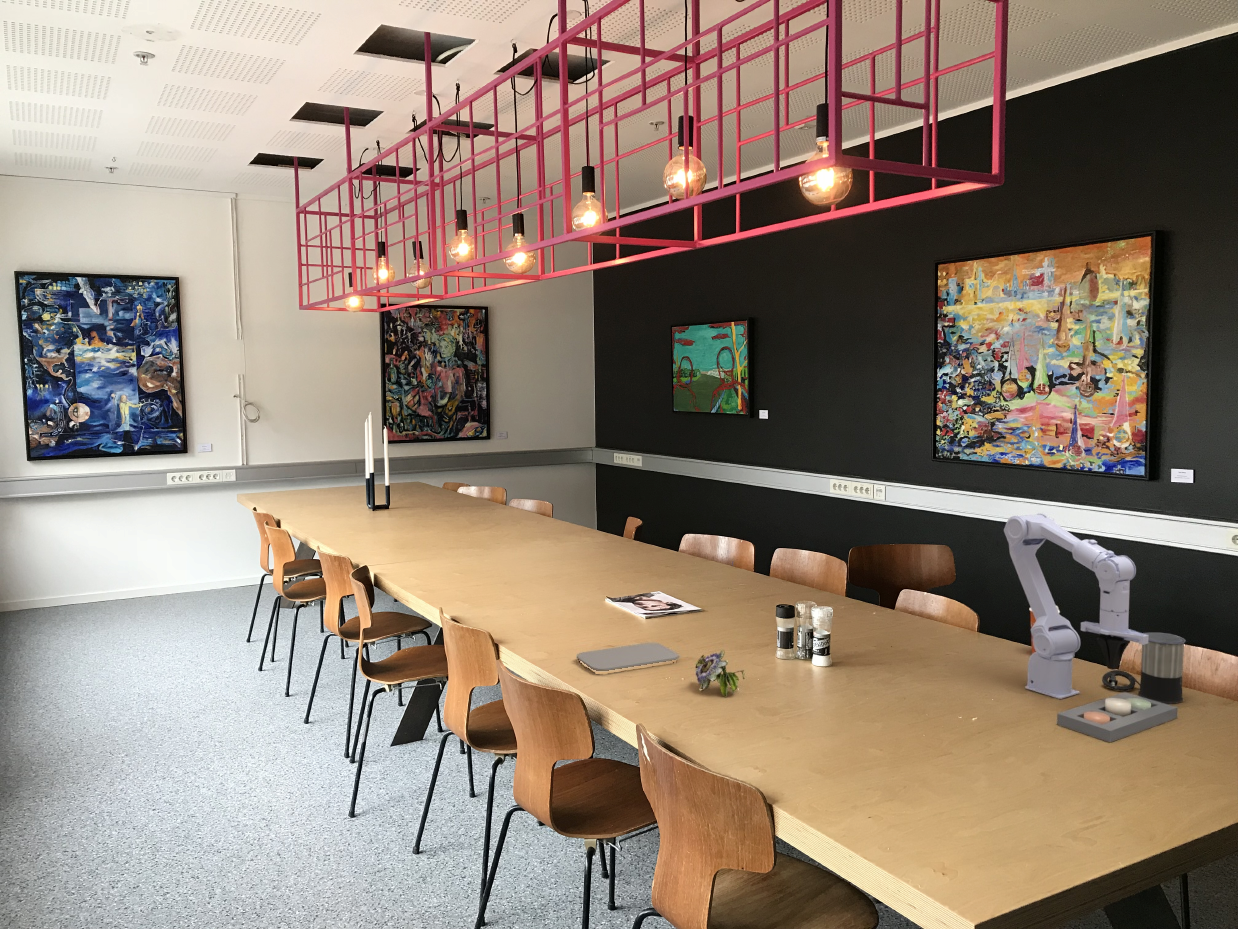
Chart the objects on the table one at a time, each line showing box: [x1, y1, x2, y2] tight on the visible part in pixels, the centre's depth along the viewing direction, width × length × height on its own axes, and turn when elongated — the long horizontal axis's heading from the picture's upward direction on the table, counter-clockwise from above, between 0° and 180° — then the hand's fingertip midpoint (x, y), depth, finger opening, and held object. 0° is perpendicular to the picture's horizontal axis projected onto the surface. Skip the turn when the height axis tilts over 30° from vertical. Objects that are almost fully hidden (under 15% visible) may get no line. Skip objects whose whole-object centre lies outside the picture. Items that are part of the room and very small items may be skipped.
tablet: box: [576, 642, 680, 671], centre depth 248 cm, size 16×26×2 cm, turn 115°
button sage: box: [1126, 698, 1151, 710], centre depth 204 cm, size 5×5×3 cm
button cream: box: [1105, 697, 1131, 717], centre depth 200 cm, size 5×5×3 cm
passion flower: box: [694, 649, 746, 697], centre depth 224 cm, size 11×11×12 cm
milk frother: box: [1101, 632, 1187, 705], centre depth 217 cm, size 14×16×15 cm
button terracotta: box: [1084, 711, 1110, 724], centre depth 196 cm, size 5×5×3 cm
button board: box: [1056, 691, 1179, 743], centre depth 200 cm, size 12×26×2 cm, turn 121°
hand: (1112, 668), depth 205 cm, fingers closed
